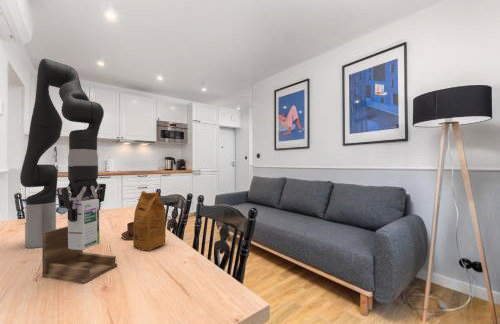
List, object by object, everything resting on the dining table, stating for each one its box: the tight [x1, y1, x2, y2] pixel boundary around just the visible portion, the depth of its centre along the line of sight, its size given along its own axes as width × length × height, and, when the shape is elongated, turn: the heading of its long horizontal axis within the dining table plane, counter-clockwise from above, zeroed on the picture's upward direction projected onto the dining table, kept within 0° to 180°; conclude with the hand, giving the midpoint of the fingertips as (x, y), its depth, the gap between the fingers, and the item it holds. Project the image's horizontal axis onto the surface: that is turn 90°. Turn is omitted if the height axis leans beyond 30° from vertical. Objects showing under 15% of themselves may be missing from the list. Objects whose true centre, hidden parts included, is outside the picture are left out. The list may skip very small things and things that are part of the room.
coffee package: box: [132, 190, 167, 251], centre depth 92 cm, size 10×12×22 cm
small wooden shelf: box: [41, 225, 118, 285], centre depth 70 cm, size 16×11×13 cm
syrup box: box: [67, 198, 101, 251], centre depth 70 cm, size 6×6×14 cm
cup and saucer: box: [121, 221, 134, 240], centre depth 104 cm, size 12×12×6 cm
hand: (83, 218), depth 70 cm, fingers closed on syrup box, 6 cm apart
